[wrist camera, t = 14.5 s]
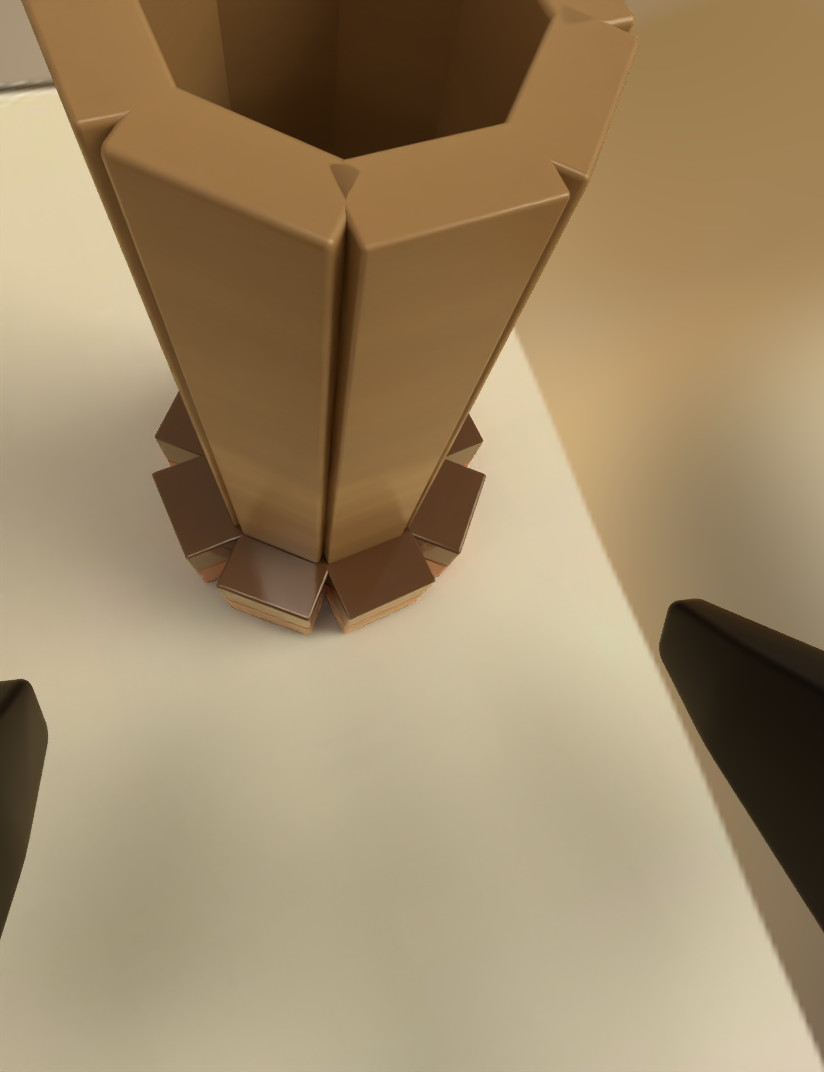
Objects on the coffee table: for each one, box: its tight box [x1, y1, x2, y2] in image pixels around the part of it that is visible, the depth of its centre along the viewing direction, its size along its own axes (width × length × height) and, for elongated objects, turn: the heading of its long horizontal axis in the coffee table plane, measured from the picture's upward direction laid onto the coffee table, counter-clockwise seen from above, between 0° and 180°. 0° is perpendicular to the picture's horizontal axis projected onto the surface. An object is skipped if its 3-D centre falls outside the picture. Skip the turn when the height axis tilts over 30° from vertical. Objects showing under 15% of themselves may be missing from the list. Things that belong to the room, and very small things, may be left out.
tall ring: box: [21, 0, 639, 564], centre depth 12 cm, size 6×6×12 cm
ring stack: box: [152, 392, 486, 635], centre depth 19 cm, size 9×9×3 cm
